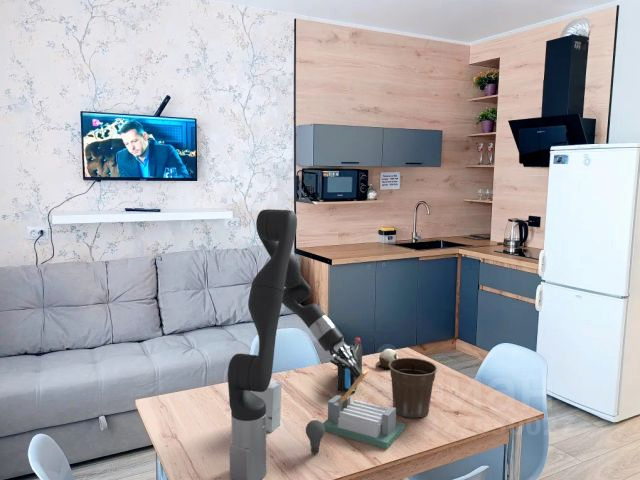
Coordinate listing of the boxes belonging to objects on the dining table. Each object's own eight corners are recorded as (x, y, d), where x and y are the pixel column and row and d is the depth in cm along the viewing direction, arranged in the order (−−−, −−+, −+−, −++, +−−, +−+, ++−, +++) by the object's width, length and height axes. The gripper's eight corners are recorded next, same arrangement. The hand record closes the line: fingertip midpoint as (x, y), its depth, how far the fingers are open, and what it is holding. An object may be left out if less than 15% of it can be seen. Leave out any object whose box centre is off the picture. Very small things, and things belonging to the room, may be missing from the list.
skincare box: (250, 427, 171) (249, 383, 169) (259, 419, 176) (259, 376, 174) (273, 433, 167) (272, 388, 165) (282, 425, 173) (282, 381, 171)
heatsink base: (387, 449, 158) (387, 422, 157) (321, 430, 169) (321, 404, 168) (404, 429, 170) (405, 404, 169) (342, 413, 181) (342, 389, 180)
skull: (386, 356, 234) (399, 343, 228) (399, 376, 229) (412, 363, 223) (367, 361, 226) (381, 348, 220) (380, 383, 221) (394, 370, 215)
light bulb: (319, 446, 159) (319, 415, 158) (328, 455, 154) (328, 422, 153) (302, 451, 156) (302, 419, 155) (311, 460, 152) (311, 427, 150)
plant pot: (437, 403, 189) (438, 360, 187) (434, 424, 173) (435, 377, 171) (391, 398, 193) (392, 355, 191) (384, 418, 178) (385, 371, 176)
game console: (352, 398, 193) (353, 359, 191) (335, 396, 195) (335, 358, 193) (363, 370, 220) (363, 336, 218) (347, 368, 222) (348, 334, 220)
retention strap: (339, 405, 171) (337, 403, 171) (344, 401, 174) (342, 399, 174) (364, 374, 165) (362, 372, 165) (369, 370, 168) (367, 368, 168)
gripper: (322, 331, 165) (358, 376, 161) (342, 321, 177) (376, 363, 172) (308, 345, 169) (342, 390, 164) (328, 334, 180) (361, 375, 175)
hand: (359, 376), depth 168 cm, fingers closed
